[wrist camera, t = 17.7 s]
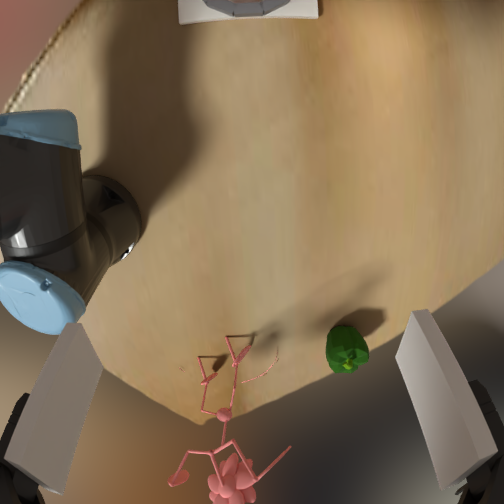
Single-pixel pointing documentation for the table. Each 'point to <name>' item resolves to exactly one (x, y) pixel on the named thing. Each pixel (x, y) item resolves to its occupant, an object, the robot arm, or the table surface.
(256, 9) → the ring board
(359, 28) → the table surface
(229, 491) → the figurine
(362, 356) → the bell pepper
